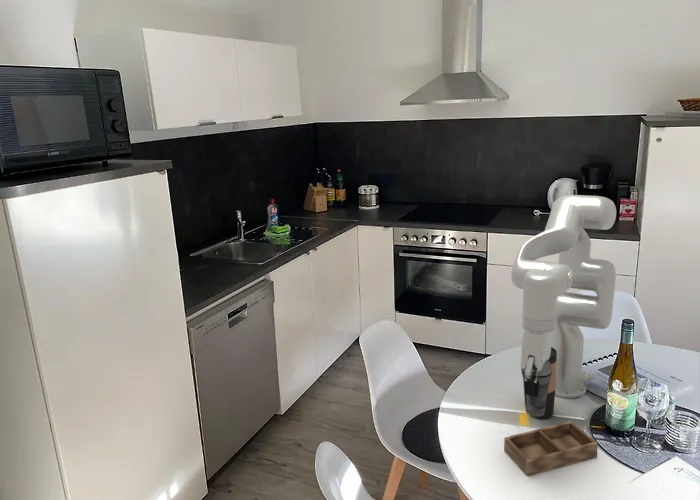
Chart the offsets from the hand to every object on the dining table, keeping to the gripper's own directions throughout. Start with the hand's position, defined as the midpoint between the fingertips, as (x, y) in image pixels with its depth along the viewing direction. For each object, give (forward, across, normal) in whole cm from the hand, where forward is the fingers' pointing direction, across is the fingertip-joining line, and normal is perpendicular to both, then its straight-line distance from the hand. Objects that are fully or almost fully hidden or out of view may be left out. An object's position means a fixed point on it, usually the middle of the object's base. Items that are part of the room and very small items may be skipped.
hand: (536, 387), depth 138 cm
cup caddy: (+21, -4, +3) cm, 21 cm away
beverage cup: (+7, 0, 0) cm, 7 cm away
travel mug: (+21, -22, -4) cm, 30 cm away
